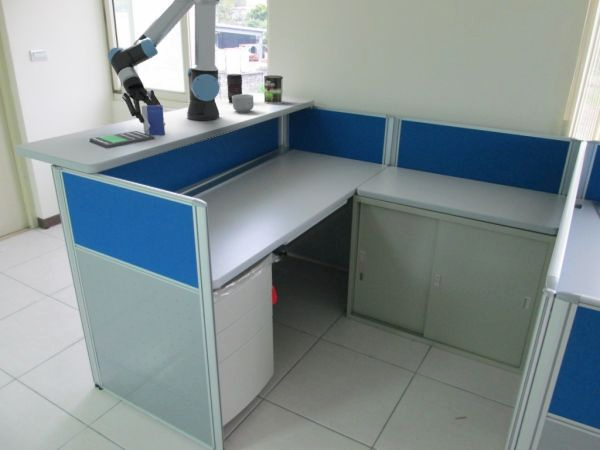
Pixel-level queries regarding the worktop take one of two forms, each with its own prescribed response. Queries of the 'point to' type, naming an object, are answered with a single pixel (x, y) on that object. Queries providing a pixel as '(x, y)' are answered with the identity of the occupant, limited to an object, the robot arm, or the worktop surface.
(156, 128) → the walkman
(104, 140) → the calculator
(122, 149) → the worktop surface
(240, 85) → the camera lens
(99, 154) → the worktop surface
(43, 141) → the worktop surface
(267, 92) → the coffee can
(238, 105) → the teacup
